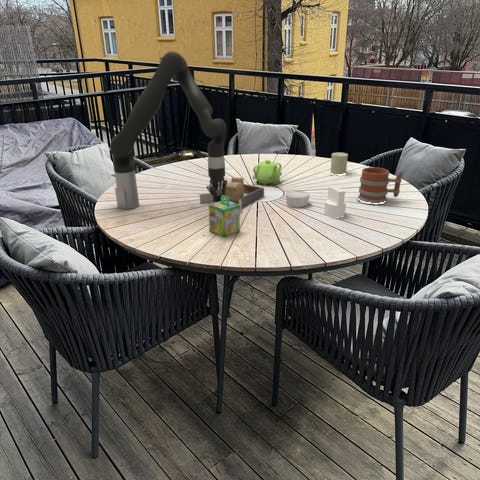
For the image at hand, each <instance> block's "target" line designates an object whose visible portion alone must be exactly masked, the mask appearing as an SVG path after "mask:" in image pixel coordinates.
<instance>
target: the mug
mask: <svg viewBox="0 0 480 480" xmlns="http://www.w3.org/2000/svg"><path fill="white" fill-rule="evenodd" d="M389 175H390V171H389V170H388V169H386V168H382V167H372V166H368V167H364V168H362V169H361V176H360V179H359V182H360V186H359V188H358V192H359V195H357V197H358V198H359V199H360V200H362V201H365V202H371V203H380V202H384V201H386V200H387V201H388V199H386V198H387V195H388V194H389V193H392V194H393V197H395V198H397V197H398V196H399V194H400V193H401V192H400V191H401V190H400V187H401V183H402V180H403V179H402V176H403V171H398V174H397V175H396V177H395V178H389ZM389 183H394V186H393V187H394V188H392V189H391V188H388V185H389Z"/></svg>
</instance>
